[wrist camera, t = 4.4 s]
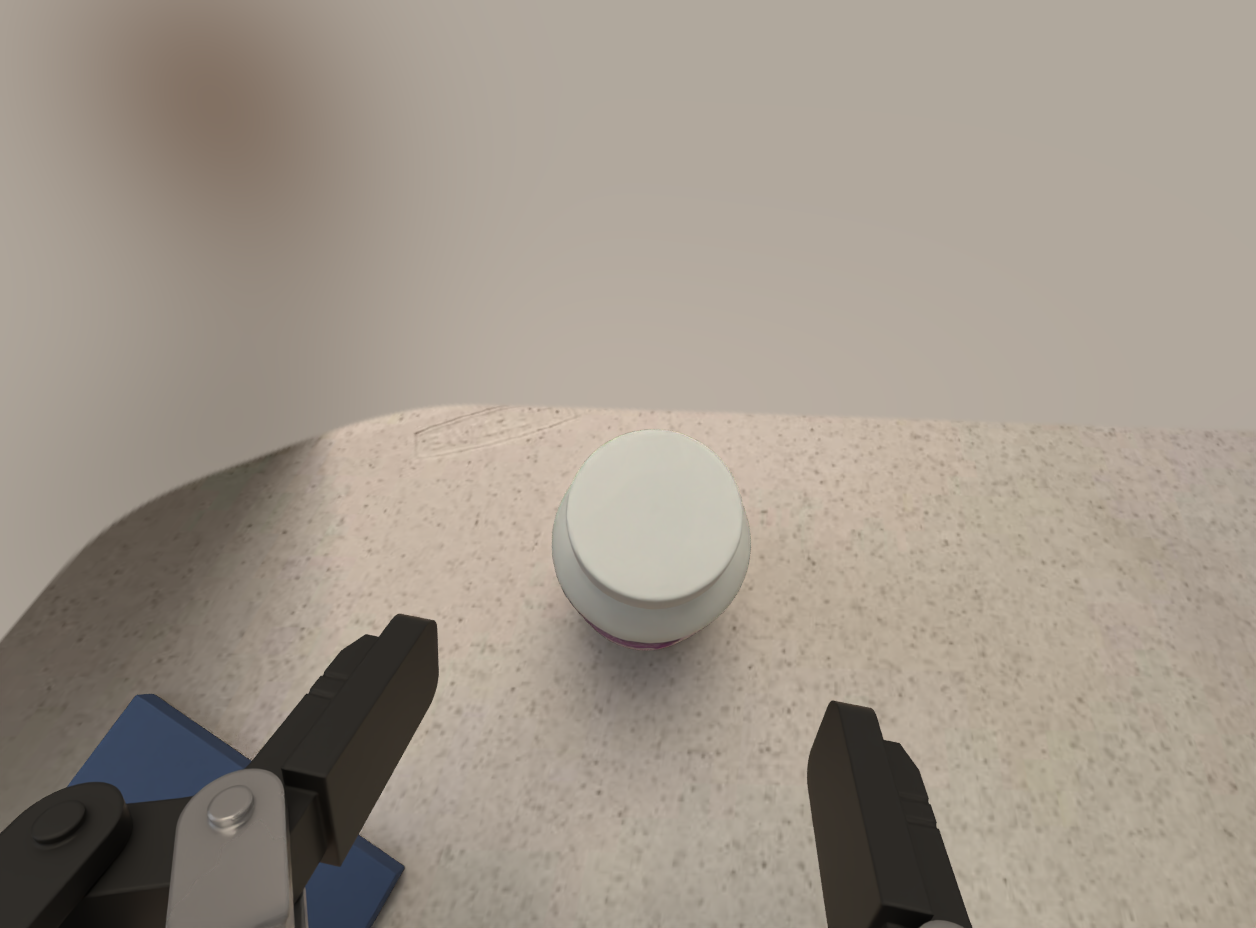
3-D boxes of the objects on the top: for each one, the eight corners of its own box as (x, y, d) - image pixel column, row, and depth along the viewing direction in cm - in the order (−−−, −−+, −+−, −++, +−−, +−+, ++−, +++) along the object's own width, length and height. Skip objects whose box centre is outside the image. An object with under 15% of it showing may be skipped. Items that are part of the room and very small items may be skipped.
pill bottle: (697, 670, 21) (746, 674, 12) (556, 626, 22) (497, 597, 12) (732, 527, 23) (798, 433, 13) (600, 490, 23) (577, 376, 14)
